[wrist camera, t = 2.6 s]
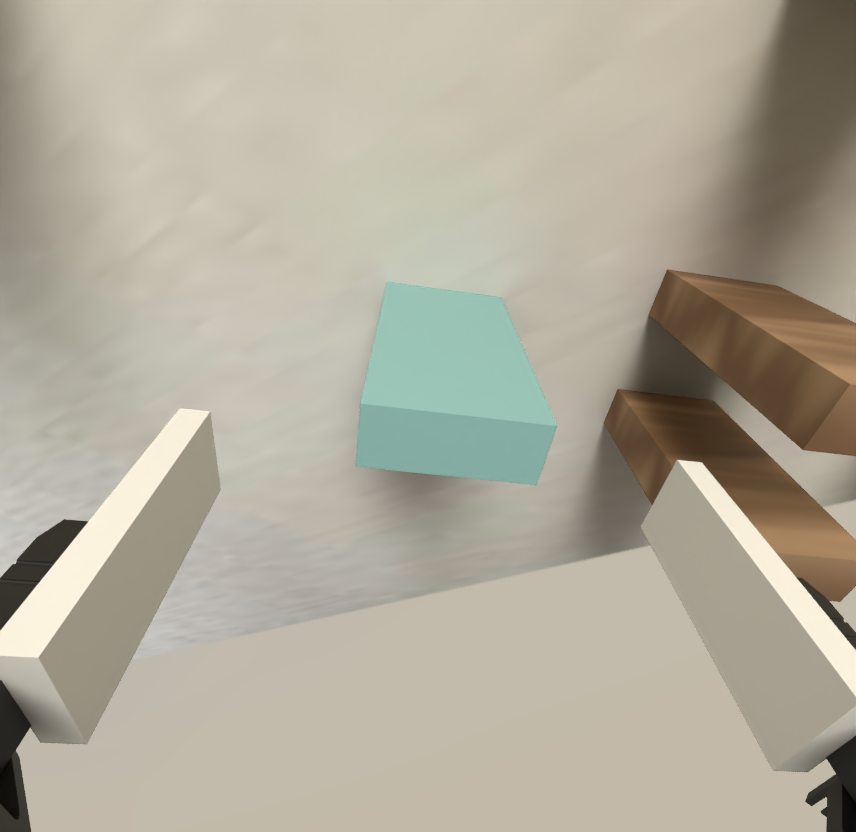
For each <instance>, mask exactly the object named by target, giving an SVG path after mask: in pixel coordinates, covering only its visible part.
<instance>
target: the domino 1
mask: <svg viewBox="0 0 856 832" xmlns="http://www.w3.org/2000/svg"><path fill="white" fill-rule="evenodd" d="M556 428H557V424H556V422H555V420H554V417H553V415H552V413H551V410H550V408H549V406H548V403H547V401H546V399H545V396H544V394H543V392H542V390H541V387H540V385H539V383H538V380H537V378H536V376H535V373H534V371H533V369H532V366H531V364H530V362H529V360H528V357H527V355H526V353H525V350H524V348H523V346H522V343H521V341H520V339H519V336H518V334H517V332H516V330H515V327H514V325H513V323H512V320H511V318H510V316H509V313H508V311H507V309H506V306H505V304H504V302H503V300H502V297H494V296H487V295H480V294H472V293H465V292H458V291H450V290H443V289H436V288H428V287H421V286H414V285H407V284H399V283H392V282H387V285H386V289H385V294H384V298H383V303H382V307H381V312H380V316H379V321H378V326H377V330H376V335H375V339H374V344H373V348H372V353H371V357H370V362H369V366H368V371H367V376H366V380H365V385H364V389H363V394H362V398H361V403H360V415H359V429H358V443H357V457H356V467H365V468H374V469H384V470H394V471H403V472H413V473H423V474H432V475H442V476H452V477H461V478H471V479H481V480H490V481H500V482H510V483H519V484H529V485H537V482H538V480H539V477H540V474H541V471H542V468H543V465H544V463H545V460H546V457H547V454H548V451H549V448H550V445H551V443H552V440H553V437H554V434H555V431H556Z"/></svg>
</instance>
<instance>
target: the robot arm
mask: <svg viewBox="0 0 856 832" xmlns="http://www.w3.org/2000/svg"><path fill="white" fill-rule="evenodd" d="M220 490H221V489H220V481H219V474H218V466H217V459H216V451H215V444H214V436H213V429H212V421H211V414H210V411H201V410H191V409H181V408H180V409H179V410H178V412H177V413H176V414H175V415H174V416H173V418H172V419H171V420H170V421H169V423H168V424H167V425H166V426H165V428H164V429H163V430H162V431H161V433H160V434H159V435H158V436H157V437H156V439H155V440H154V441H153V442H152V444H151V445H150V446H149V447H148V449H147V450H146V451H145V452H144V454H143V455H142V456H141V457H140V459H139V460H138V461H137V462H136V463H135V465H134V466H133V467H132V468H131V470H130V471H129V472H128V473H127V475H126V476H125V477H124V478H123V480H122V481H121V482H120V483H119V484H118V486H117V487H116V488H115V489H114V491H113V492H112V493H111V494H110V496H109V497H108V498H107V499H106V501H105V502H104V503H103V504H102V506H101V507H100V508H99V509H98V510H97V512H96V513H95V514H94V515H93V517H92V518H91V519H90V520H89V521H76V520H63V521H61V522H60V523H58V524H57V525H55V526H54V527H52V528H51V529H49V530H48V531H46V532H45V533H43V534H41V535H40V536H38V537H37V538H36V539H35V540H34V541H33V542H32V543H31V545H30V546H29V547H28V548H27V549H26V550H25V551H24V552H23V553H22V555H21V556H20V557H19V558H18V559H17V563H16V564H13V565H12V566H11V567H10V568H9V569H8V570H7V571H6V572H5V573H4V574H3V576H2V577H1V578H0V832H31V828H30V822H29V815H28V809H27V803H26V796H25V790H24V784H23V777H22V771H21V765H20V759H19V756H18V754H17V752H16V749H17V747H18V746H19V744H20V742H21V741H22V739H23V738H24V736H25V734H26V733H27V731H28V730H29V728H31V729H32V731H33V732H34V733H35V735H36V737H37V738H38V740H39V741H40V742H41V743H42V742H43V743H67V744H87V743H88V741H89V739H90V737H91V735H92V734H93V732H94V730H95V728H96V726H97V724H98V722H99V720H100V718H101V716H102V714H103V712H104V711H105V709H106V707H107V705H108V703H109V701H110V699H111V697H112V695H113V693H114V692H115V690H116V688H117V686H118V684H119V682H120V680H121V678H122V676H123V675H124V673H125V671H126V669H127V667H128V665H129V663H130V661H131V659H132V657H133V655H134V654H135V652H136V650H137V648H138V646H139V644H140V642H141V640H142V638H143V636H144V635H145V633H146V631H147V629H148V627H149V625H150V623H151V621H152V619H153V617H154V615H155V614H156V612H157V610H158V608H159V606H160V604H161V602H162V600H163V598H164V596H165V594H166V593H167V591H168V589H169V587H170V585H171V583H172V581H173V579H174V577H175V575H176V574H177V572H178V570H179V568H180V566H181V564H182V562H183V560H184V558H185V556H186V554H187V553H188V551H189V549H190V547H191V545H192V543H193V541H194V539H195V537H196V535H197V534H198V532H199V530H200V528H201V526H202V524H203V522H204V520H205V518H206V516H207V514H208V513H209V511H210V509H211V507H212V505H213V503H214V501H215V499H216V497H217V495H218V494H219V492H220ZM641 528H642V530H643V532H644V534H645V536H646V538H647V540H648V541H649V543H650V545H651V547H652V549H653V551H654V552H655V554H656V556H657V558H658V560H659V562H660V563H661V565H662V567H663V569H664V571H665V572H666V574H667V576H668V578H669V580H670V581H671V584H672V585H673V587H674V589H675V591H676V593H677V595H678V597H679V598H680V600H681V602H682V604H683V606H684V608H685V609H686V611H687V613H688V615H689V617H690V619H691V620H692V622H693V624H694V626H695V628H696V630H697V632H698V633H699V635H700V637H701V639H702V641H703V643H704V644H705V646H706V648H707V650H708V652H709V653H710V655H711V657H712V659H713V661H714V663H715V665H716V666H717V668H718V670H719V672H720V674H721V676H722V678H723V679H724V681H725V683H726V685H727V687H728V688H729V690H730V692H731V694H732V696H733V698H734V700H735V701H736V703H737V705H738V707H739V709H740V711H741V712H742V714H743V716H744V718H745V720H746V722H747V724H748V725H749V727H750V729H751V731H752V733H753V735H754V736H755V738H756V740H757V742H758V744H759V746H760V747H761V749H762V751H763V753H764V755H765V757H766V758H767V760H768V762H769V764H770V766H771V768H772V770H773V771H791V772H808V771H810V770H811V769H813V768H814V767H816V766H817V765H818V764H820V763H821V762H822V761H824V760H825V759H827V760H828V761H829V763H830V764H831V766H832V768H833V769H834V771H835V772H836V775H834V776H833V777H831V778H830V779H828V780H827V781H826V782H824V783H822V784H821V785H819V786H818V787H817V788H815V789H814V790H812V791H811V792H809V793H808V796H807V798H806V802H807V803H808V804H810V805H811V806H813V805H814V804H815V803H817V802H819V801H820V800H822V799H823V798H825V797H827V807H826V808H825V809H823V810H822V811H821V813H822V814H823V815H825V816H826V817H827V832H856V632H855V631H854V630H853V629H852V628H851V627H850V625H849V624H848V623H845V622H844V621H843V619H844V618H843V617H842V616H841V615H840V614H839V612H838V611H837V610H836V609H835V608H834V607H833V605H832V604H831V603H830V602H829V601H828V599H827V598H826V597H825V596H824V595H822V594H821V593H820V592H819V591H818V590H816V589H815V588H814V587H813V586H811V585H810V584H809V583H808V582H806V581H805V580H804V579H803V578H798V577H795V575H794V574H793V573H792V572H791V571H790V569H789V568H788V567H787V566H786V565H785V563H784V562H783V561H782V560H781V558H780V557H779V556H778V555H777V554H776V552H775V551H774V550H773V549H772V547H771V546H770V545H769V544H768V543H767V541H766V540H765V539H764V538H763V536H762V535H761V534H760V533H759V532H758V530H757V529H756V528H755V527H754V526H753V524H752V523H751V522H750V521H749V519H748V518H747V517H746V516H745V515H744V513H743V512H742V511H741V510H740V508H739V507H738V506H737V505H736V504H735V502H734V501H733V500H732V499H731V497H730V496H729V495H728V494H727V493H726V491H725V490H724V489H723V488H722V486H721V485H720V484H719V483H718V482H717V480H716V479H715V478H714V477H713V476H712V474H711V473H710V472H709V471H708V469H707V468H706V467H705V466H704V465H703V463H702V462H693V461H683V460H677V461H676V463H675V465H674V466H673V468H672V470H671V472H670V474H669V476H668V477H667V479H666V481H665V483H664V485H663V487H662V488H661V490H660V492H659V494H658V496H657V498H656V499H655V501H654V503H653V505H652V507H651V509H650V510H649V512H648V514H647V516H646V518H645V520H644V521H643V523H642V525H641Z"/></svg>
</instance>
